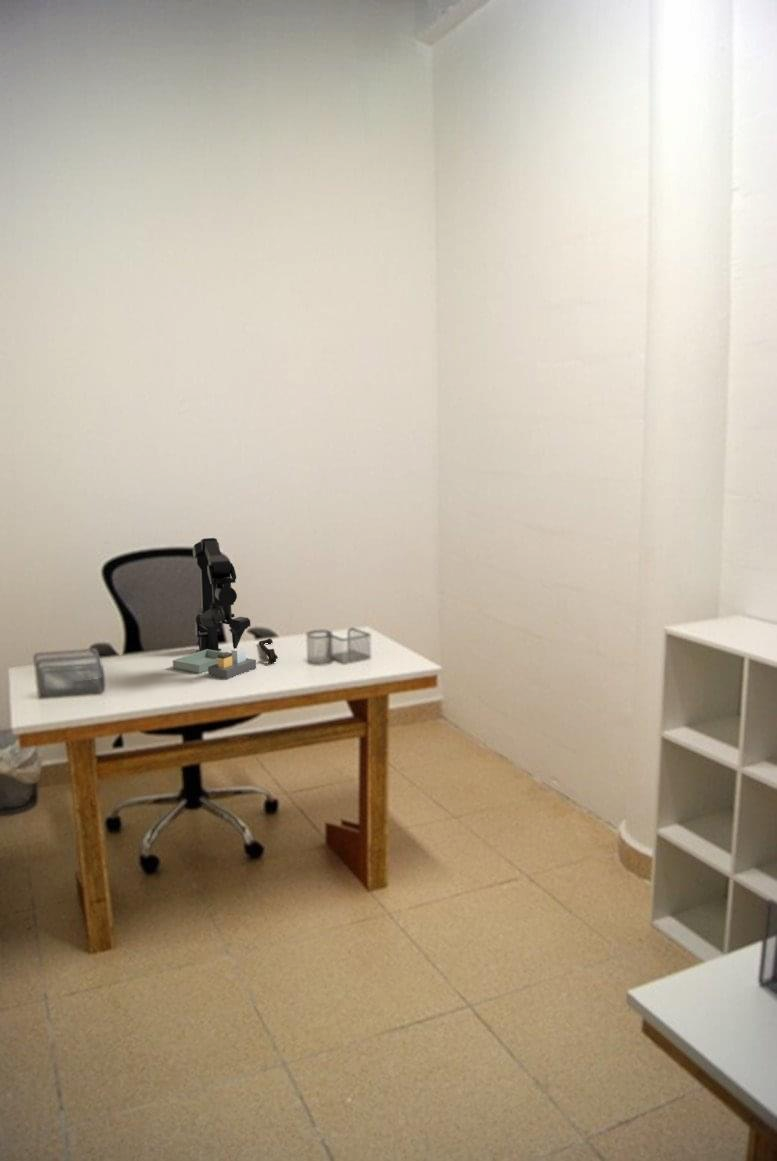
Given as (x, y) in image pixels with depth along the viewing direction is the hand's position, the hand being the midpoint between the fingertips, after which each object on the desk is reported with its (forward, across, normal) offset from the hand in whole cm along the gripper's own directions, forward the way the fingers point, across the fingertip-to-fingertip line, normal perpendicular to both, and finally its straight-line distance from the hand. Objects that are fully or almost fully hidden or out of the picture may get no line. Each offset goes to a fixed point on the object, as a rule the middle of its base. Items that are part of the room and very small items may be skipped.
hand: (224, 646), depth 286 cm
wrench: (+10, -3, +27) cm, 29 cm away
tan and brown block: (+9, 0, 0) cm, 9 cm away
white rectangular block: (+9, 0, +6) cm, 11 cm away
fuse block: (+9, 0, +3) cm, 10 cm away
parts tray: (+9, -14, +4) cm, 17 cm away
